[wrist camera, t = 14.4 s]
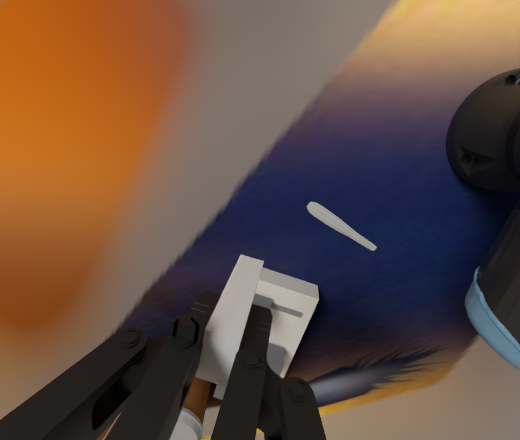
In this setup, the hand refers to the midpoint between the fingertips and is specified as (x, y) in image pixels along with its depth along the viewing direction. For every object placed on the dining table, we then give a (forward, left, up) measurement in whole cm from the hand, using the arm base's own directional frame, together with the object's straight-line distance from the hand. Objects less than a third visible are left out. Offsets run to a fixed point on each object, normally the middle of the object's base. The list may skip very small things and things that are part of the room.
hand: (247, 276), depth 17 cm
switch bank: (-6, +28, -27) cm, 40 cm away
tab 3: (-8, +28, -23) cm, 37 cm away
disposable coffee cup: (+4, +46, -27) cm, 54 cm away
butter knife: (-18, +5, -28) cm, 34 cm away
